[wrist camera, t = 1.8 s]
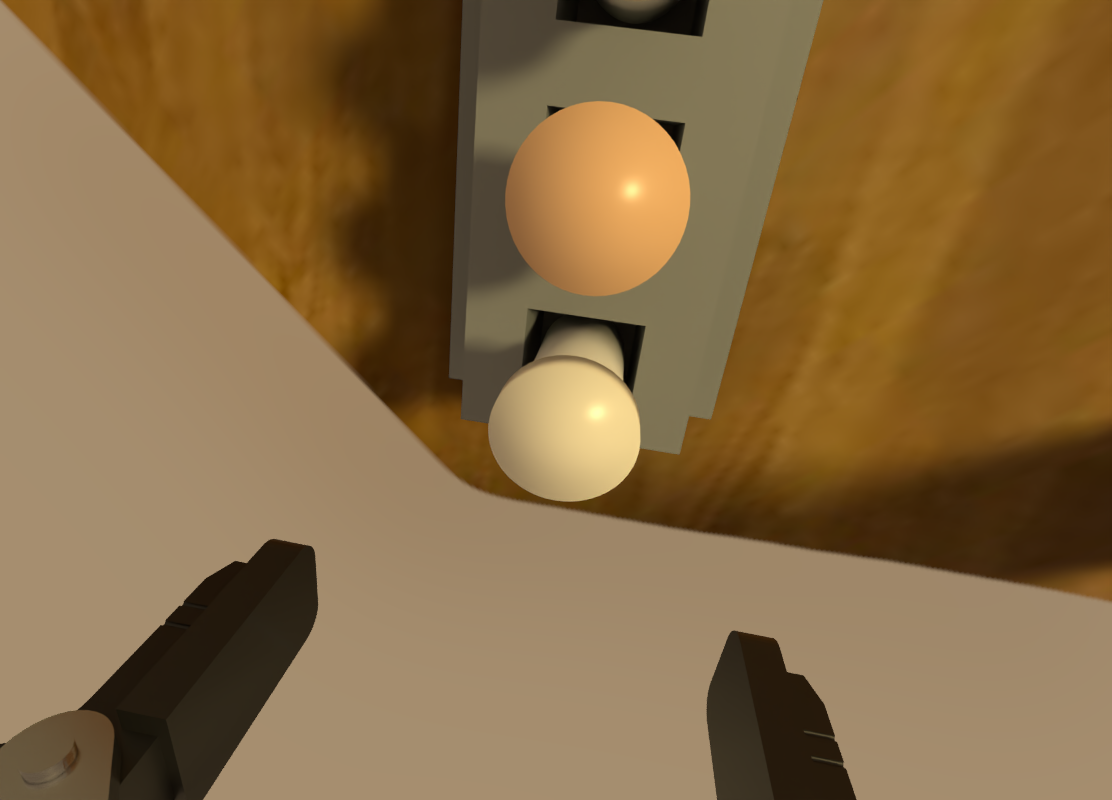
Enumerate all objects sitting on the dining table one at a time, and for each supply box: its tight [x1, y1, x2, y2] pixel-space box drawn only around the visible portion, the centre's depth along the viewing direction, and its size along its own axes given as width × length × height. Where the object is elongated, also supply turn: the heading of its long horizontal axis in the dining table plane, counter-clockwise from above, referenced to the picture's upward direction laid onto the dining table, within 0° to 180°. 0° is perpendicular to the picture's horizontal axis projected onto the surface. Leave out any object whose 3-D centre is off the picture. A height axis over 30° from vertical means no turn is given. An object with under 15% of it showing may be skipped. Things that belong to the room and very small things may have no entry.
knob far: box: [488, 314, 640, 501], centre depth 21 cm, size 5×5×8 cm
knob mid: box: [505, 101, 690, 296], centre depth 18 cm, size 5×5×8 cm
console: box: [449, 0, 823, 454], centre depth 23 cm, size 14×22×7 cm, turn 173°
